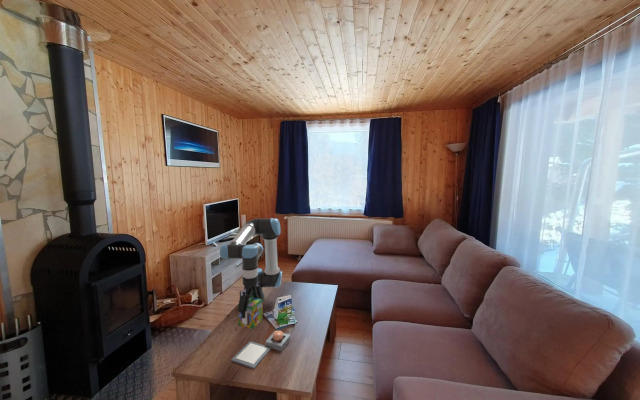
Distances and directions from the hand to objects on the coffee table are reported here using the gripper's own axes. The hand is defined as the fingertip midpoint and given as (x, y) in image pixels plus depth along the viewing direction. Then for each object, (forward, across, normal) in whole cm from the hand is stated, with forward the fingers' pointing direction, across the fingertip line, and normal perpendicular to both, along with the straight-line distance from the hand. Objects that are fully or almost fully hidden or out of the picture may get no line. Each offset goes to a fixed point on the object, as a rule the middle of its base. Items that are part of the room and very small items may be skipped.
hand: (250, 318), depth 125 cm
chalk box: (+3, 0, 0) cm, 3 cm away
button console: (+20, -13, +8) cm, 25 cm away
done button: (+17, -13, +8) cm, 23 cm away
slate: (+20, 0, 0) cm, 20 cm away
